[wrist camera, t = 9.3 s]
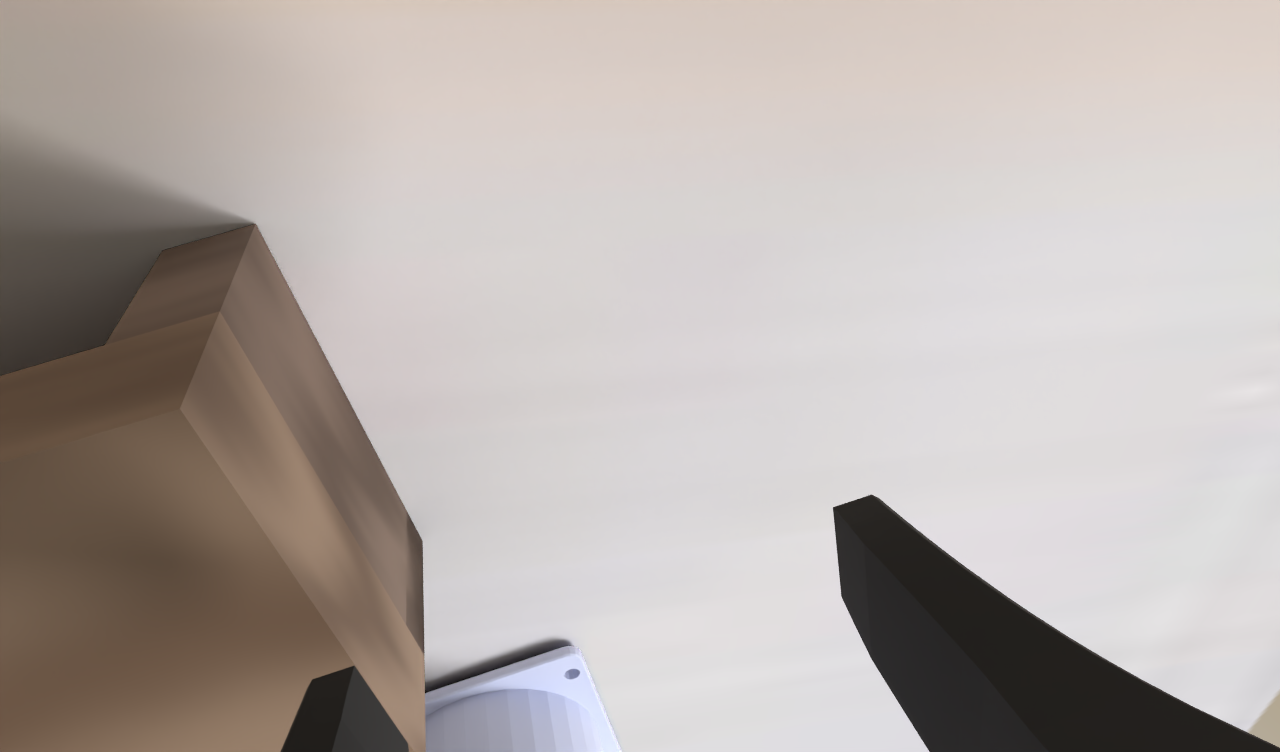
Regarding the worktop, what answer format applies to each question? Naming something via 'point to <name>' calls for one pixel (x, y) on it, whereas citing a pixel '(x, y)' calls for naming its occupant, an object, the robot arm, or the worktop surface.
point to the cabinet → (197, 527)
